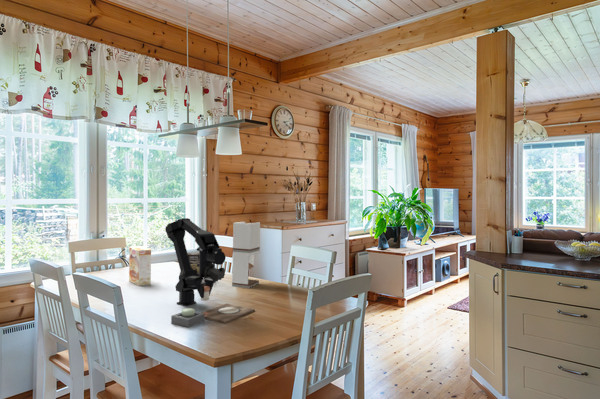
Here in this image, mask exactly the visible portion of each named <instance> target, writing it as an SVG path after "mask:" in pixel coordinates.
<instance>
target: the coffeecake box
mask: <svg viewBox="0 0 600 399" xmlns="http://www.w3.org/2000/svg"><path fill="white" fill-rule="evenodd" d="M128 250H129V252H128V253H129V260H128V261H129V265H128V266H129V270H128V274H129V276H128V281H129V282H130V283H132V284H134V285H137V286H139V287H140V286H147V285H151V284H152V283H151V282H152V280H151V277H152V249H151V248H148V247H145V246H141V245H139V246H129V249H128Z"/></svg>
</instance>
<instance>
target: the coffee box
mask: <svg viewBox="0 0 600 399" xmlns="http://www.w3.org/2000/svg"><path fill="white" fill-rule="evenodd" d="M187 254H188V257H189V261H190V265H191V268H192V269H193V270H194V269H196V270H197V273H199V267H198V266H197V264H199V252H191V253H190V252H187Z"/></svg>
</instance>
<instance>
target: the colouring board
mask: <svg viewBox="0 0 600 399" xmlns="http://www.w3.org/2000/svg"><path fill="white" fill-rule="evenodd" d="M253 311H254V312H256V309H255V308H251V307H247V306H241V305H235V304H231V303H223V304H220V305H219V306H216V307H211V308H209V309H207V310H204V311H201V312H200V313H203V314H205V320H208V319H209V321H214V322H218V323H222V324H227V323H229V322H232V321H234V320H236V319H239V318H242V317H245V316H246V315H248V314H251V313H253Z"/></svg>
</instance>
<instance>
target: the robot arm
mask: <svg viewBox="0 0 600 399" xmlns="http://www.w3.org/2000/svg"><path fill="white" fill-rule="evenodd" d="M164 229H165V232H166V235H167V238H168V239H169V240H170V241H171V242H173V247H174V251H175V255H176V258H177V263H178V266H179V270H180V271H179V276H178V282H177V283H176V285H175V291H176V292H179V294H178V297H179V298H178V300H179V301H177V302H176V304H177V305H182V306H186V307H187V306H190V305H193V304H197V301H196V300H195V291H196V290H197V293H198V295H199V296H200V299H201V298H203V297H204V286H209V287H210V291H209V297H210V295H211V293H212V289H213V287H214V285H215V284H216V283H217V282H218V281H221V280H222V279H225V276H226V275H225V273H226V268H225V267H220V268H216V265H219V266H220V265H223V264H224V263H225V261H226V254H225V252H224V251H223V250H222V249H223V248H220V245H219V243H218V241H217V238H216V236H215V234H214V232H210V231H208V230H204V229H202V228H201V227H199V226H198V225H197V224H195V223H194V222H193V221H192V220H191V218H188V217H185V218H182V217H181V218H178V219H176V220H175V221H173V222H170V223H167V225H166V226H165V228H164ZM186 233H188V234H189V235H191V237H193V238H194V242H195V243H196V244H197V246H198V247H196V251H198V253H199V264H197V266H198V267H199V273H197V270H196V269H194V270H193V269H192V268H191V265H190V261H189V257H188V254H187V253H188V250H187V246H186V243H185V239H184V238H185V235H186Z"/></svg>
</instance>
